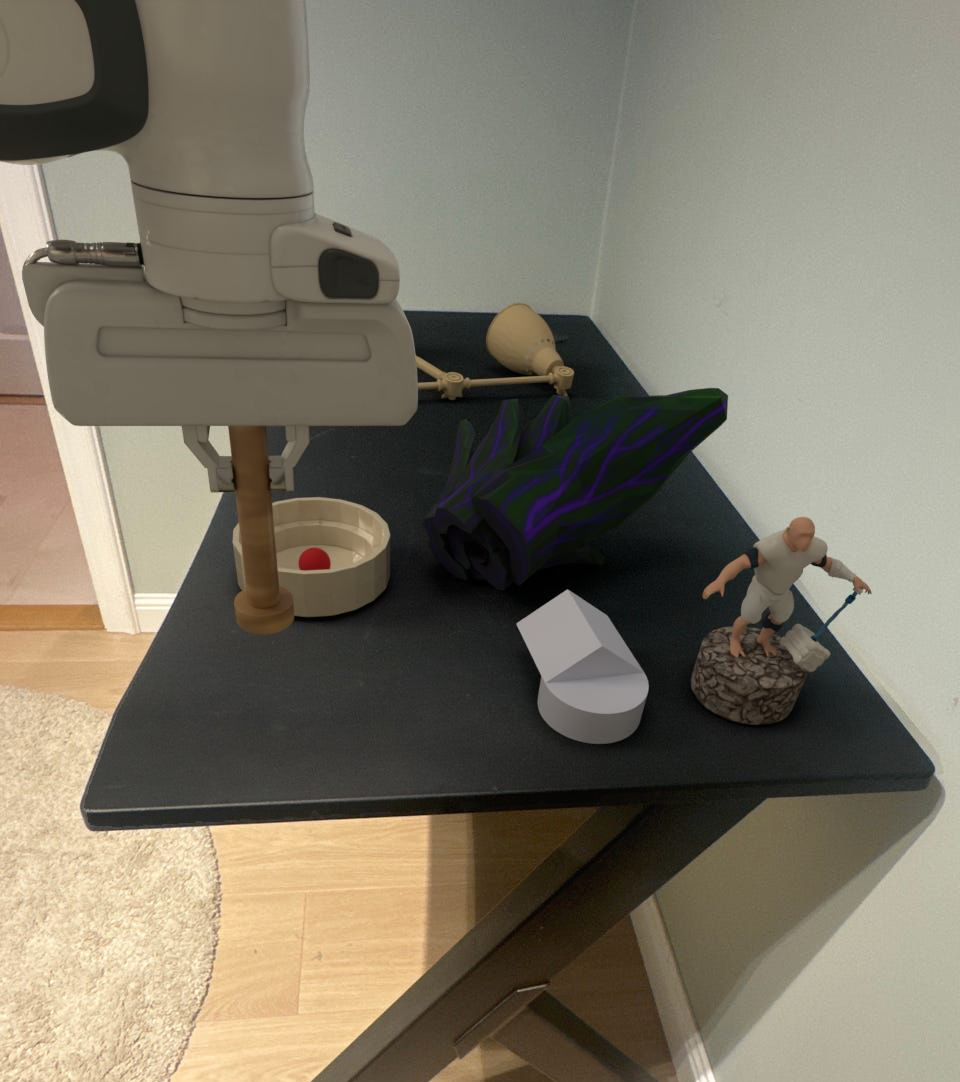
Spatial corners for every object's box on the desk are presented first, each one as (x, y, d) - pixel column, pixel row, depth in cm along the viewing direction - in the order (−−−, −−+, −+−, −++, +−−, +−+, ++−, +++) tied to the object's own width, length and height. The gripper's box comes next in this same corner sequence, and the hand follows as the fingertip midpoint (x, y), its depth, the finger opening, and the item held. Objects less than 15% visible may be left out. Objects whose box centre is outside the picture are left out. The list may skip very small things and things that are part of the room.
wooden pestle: (235, 636, 53) (207, 416, 44) (236, 603, 56) (211, 391, 47) (295, 633, 54) (280, 416, 45) (293, 601, 57) (279, 391, 48)
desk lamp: (289, 280, 124) (471, 393, 109) (441, 233, 143) (614, 323, 127) (295, 365, 135) (460, 478, 120) (435, 311, 154) (593, 403, 139)
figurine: (682, 731, 66) (741, 547, 55) (648, 667, 73) (695, 492, 62) (837, 722, 68) (923, 544, 58) (791, 660, 75) (859, 491, 64)
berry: (300, 586, 78) (298, 558, 76) (298, 569, 80) (296, 542, 79) (332, 584, 79) (331, 557, 77) (330, 567, 81) (328, 541, 79)
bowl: (237, 627, 73) (230, 577, 69) (240, 545, 84) (234, 499, 81) (398, 616, 76) (399, 568, 73) (379, 539, 88) (379, 495, 85)
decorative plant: (433, 627, 91) (584, 492, 104) (604, 662, 71) (762, 490, 85) (348, 470, 81) (528, 344, 94) (520, 461, 61) (714, 303, 75)
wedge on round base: (512, 652, 73) (556, 750, 63) (520, 592, 69) (568, 687, 59) (601, 643, 75) (657, 736, 65) (613, 585, 71) (676, 675, 61)
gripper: (-5, 250, 36) (64, 516, 44) (429, 270, 41) (418, 507, 49) (26, 225, 41) (83, 468, 49) (410, 245, 46) (404, 464, 54)
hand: (253, 488), depth 49 cm, fingers closed on wooden pestle, 2 cm apart
